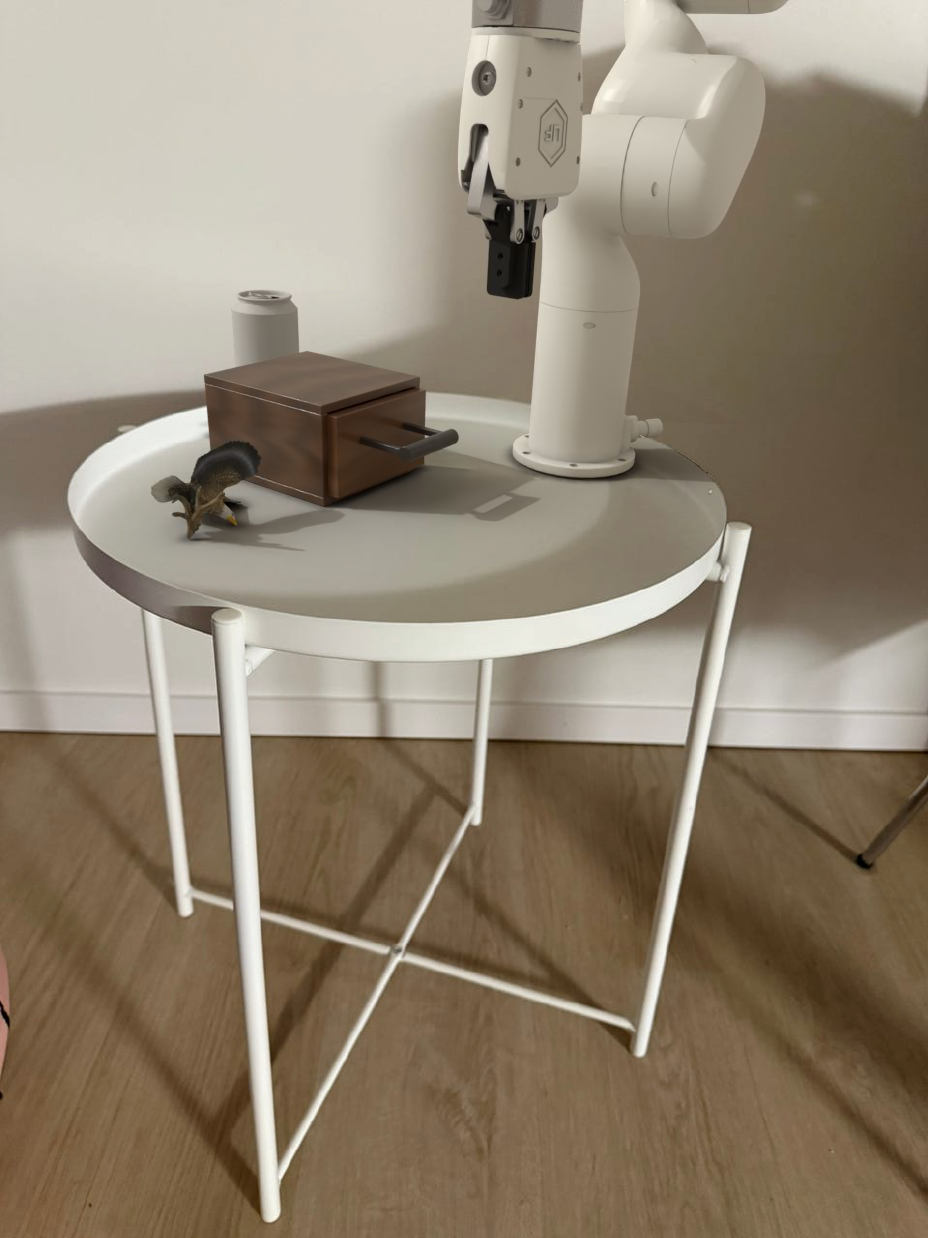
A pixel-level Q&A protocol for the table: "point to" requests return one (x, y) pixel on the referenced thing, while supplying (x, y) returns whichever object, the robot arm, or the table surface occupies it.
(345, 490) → the drawer
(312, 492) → the cabinet
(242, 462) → the eagle figurine
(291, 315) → the can
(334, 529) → the table surface
